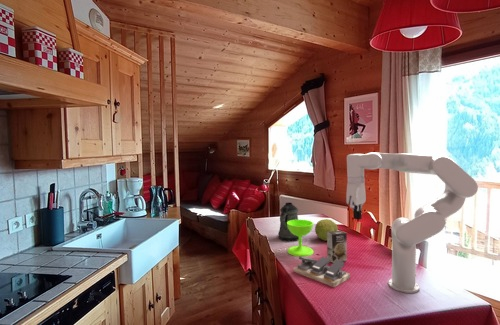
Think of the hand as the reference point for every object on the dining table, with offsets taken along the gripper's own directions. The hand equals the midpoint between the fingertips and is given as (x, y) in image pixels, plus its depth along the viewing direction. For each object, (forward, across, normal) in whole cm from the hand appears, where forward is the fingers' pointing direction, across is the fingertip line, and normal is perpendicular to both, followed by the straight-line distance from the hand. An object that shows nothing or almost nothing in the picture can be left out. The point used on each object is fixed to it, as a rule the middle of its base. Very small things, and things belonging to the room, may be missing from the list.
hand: (357, 218), depth 138 cm
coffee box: (+30, -15, -22) cm, 40 cm away
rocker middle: (+24, +7, -17) cm, 30 cm away
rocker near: (+24, +7, -9) cm, 27 cm away
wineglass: (+29, -10, -45) cm, 55 cm away
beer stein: (+29, -25, -66) cm, 77 cm away
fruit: (+30, -42, -48) cm, 70 cm away
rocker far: (+24, +7, -25) cm, 35 cm away
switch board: (+30, +7, -17) cm, 35 cm away
